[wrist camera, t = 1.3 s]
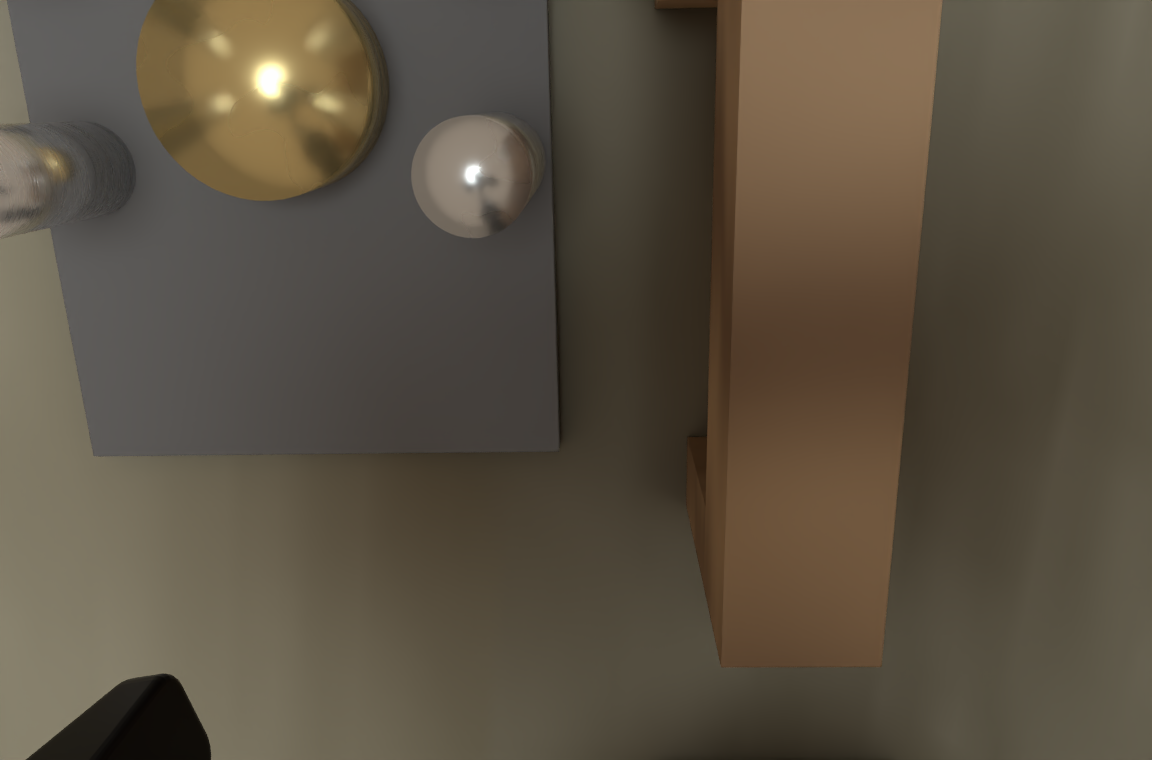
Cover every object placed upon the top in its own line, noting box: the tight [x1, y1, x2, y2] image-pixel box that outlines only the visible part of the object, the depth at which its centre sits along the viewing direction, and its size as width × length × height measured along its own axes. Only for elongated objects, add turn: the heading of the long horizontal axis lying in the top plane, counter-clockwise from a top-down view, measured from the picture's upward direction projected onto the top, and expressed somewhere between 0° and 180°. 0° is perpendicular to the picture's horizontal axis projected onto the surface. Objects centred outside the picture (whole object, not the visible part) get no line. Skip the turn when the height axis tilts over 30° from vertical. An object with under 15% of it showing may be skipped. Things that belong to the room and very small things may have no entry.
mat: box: [7, 0, 560, 456], centre depth 18 cm, size 10×12×1 cm
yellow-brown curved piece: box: [136, 0, 389, 201], centre depth 16 cm, size 4×4×2 cm
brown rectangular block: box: [655, 0, 942, 667], centre depth 15 cm, size 12×4×6 cm, turn 1°
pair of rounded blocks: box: [0, 112, 546, 239], centre depth 15 cm, size 10×6×4 cm, turn 91°
